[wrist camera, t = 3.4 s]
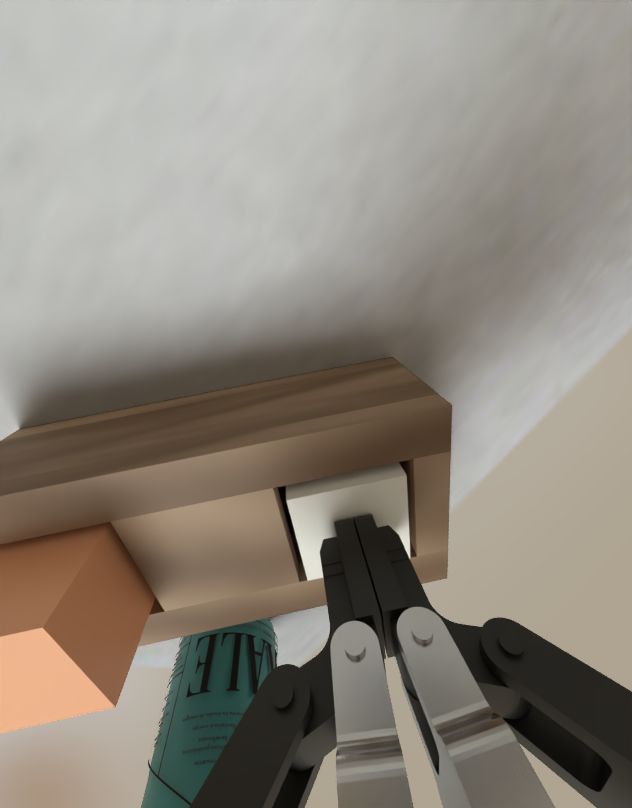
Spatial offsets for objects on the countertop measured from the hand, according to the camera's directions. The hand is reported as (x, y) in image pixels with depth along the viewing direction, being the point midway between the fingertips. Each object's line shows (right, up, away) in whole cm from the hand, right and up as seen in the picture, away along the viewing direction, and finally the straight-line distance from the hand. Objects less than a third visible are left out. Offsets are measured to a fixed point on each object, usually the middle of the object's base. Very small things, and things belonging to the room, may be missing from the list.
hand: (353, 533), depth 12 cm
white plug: (-1, +2, +4) cm, 5 cm away
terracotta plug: (-11, -1, +1) cm, 11 cm away
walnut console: (-6, +2, +5) cm, 8 cm away
